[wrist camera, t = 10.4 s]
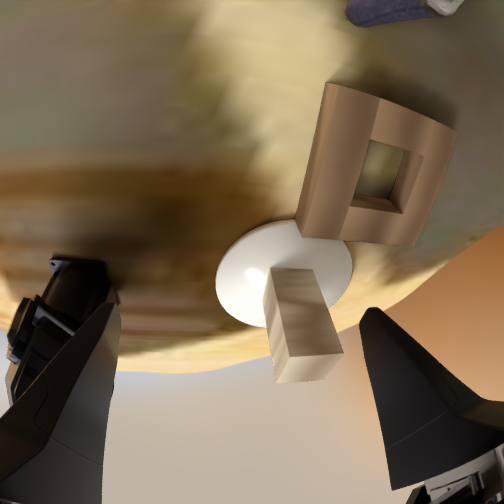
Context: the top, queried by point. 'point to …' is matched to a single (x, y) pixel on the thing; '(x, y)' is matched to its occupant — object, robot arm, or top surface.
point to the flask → (396, 10)
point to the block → (299, 326)
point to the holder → (350, 164)
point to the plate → (278, 256)
